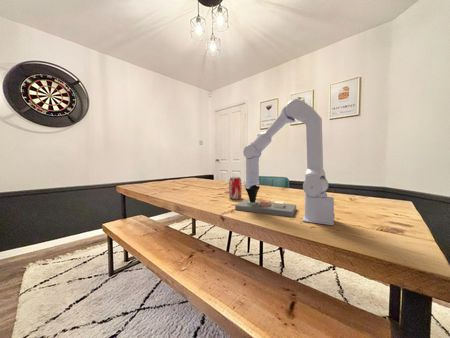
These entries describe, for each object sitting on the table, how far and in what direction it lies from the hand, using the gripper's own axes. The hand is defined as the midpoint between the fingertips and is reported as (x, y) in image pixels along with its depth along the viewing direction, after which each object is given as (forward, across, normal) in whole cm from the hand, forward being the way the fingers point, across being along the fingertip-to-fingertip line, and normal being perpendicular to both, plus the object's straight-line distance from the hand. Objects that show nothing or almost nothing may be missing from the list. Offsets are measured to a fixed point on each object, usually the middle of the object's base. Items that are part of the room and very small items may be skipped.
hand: (252, 202), depth 84 cm
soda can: (+3, -16, -16) cm, 23 cm away
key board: (+3, 0, +6) cm, 7 cm away
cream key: (+1, 0, +12) cm, 12 cm away
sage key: (+2, 0, 0) cm, 2 cm away
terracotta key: (+1, 0, +6) cm, 6 cm away
